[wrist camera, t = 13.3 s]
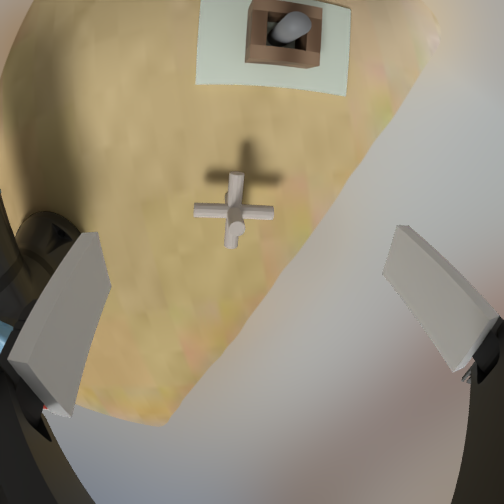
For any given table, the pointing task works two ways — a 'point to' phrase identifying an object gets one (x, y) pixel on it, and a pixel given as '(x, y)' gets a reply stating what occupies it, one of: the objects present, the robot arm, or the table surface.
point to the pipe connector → (233, 210)
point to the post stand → (279, 35)
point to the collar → (303, 56)
